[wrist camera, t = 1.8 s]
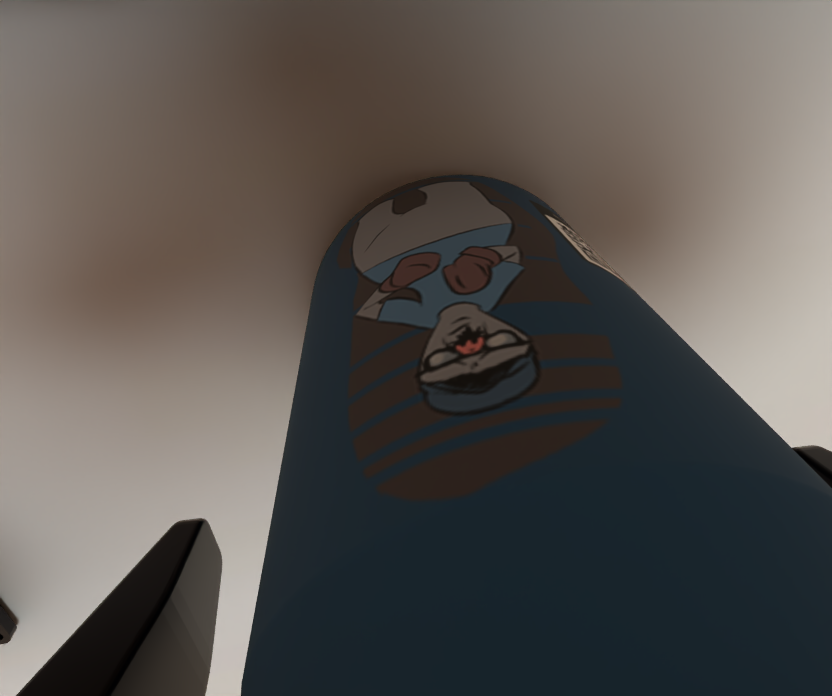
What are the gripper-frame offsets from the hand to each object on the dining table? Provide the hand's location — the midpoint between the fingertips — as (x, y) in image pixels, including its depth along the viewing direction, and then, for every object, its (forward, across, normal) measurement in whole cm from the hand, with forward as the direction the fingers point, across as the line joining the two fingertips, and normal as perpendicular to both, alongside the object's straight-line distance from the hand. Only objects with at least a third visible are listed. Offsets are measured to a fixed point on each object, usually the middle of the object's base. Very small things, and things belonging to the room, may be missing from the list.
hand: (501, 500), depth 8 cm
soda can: (+8, 0, 0) cm, 8 cm away
